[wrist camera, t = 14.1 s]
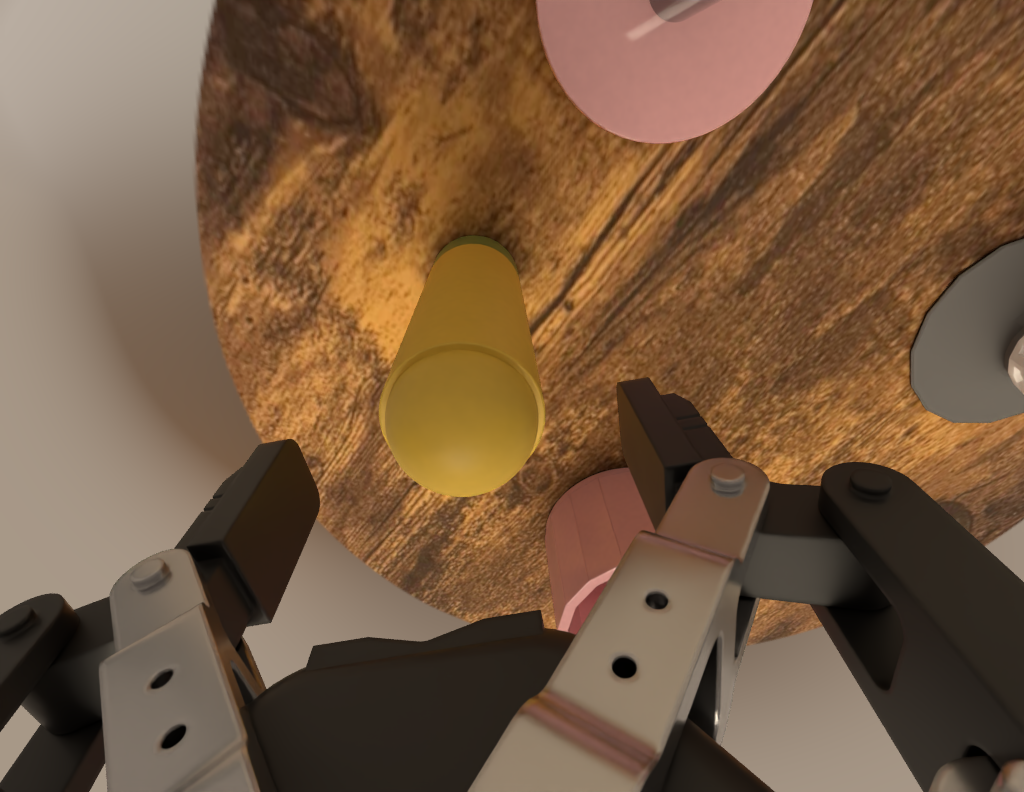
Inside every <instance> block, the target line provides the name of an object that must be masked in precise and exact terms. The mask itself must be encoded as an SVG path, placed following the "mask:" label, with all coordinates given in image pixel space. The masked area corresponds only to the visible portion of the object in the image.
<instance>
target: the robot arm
mask: <svg viewBox="0 0 1024 792" xmlns="http://www.w3.org/2000/svg"><path fill="white" fill-rule="evenodd" d="M617 402H618V413H619V425H620V437H621V444H622V449H623V453H624V457H625V460H626V463H627V465H628V468H629V470H630V472H631V475H632V477H633V479H634V482H635V484H636V486H637V489H638V491H639V494H640V496H641V498H642V501H643V503H644V505H645V508H646V510H647V512H648V515H649V517H650V519H651V522H652V524H653V526H654V529H655V533H652V532H649V531H646V530H641V531H640V532H638V534H637V535H636V536H635V537H634V539H633V541H632V542H631V544H630V546H629V547H628V549H627V551H626V552H625V554H624V556H623V557H622V559H621V561H620V562H619V564H618V566H617V567H616V569H615V571H614V572H613V574H612V576H611V577H610V579H609V581H608V582H607V584H606V586H605V588H604V589H603V591H602V593H601V594H600V596H599V598H598V599H597V601H596V603H595V604H594V606H593V608H592V609H591V611H590V613H589V614H588V616H587V618H586V619H585V621H584V623H583V624H582V626H581V628H580V629H579V631H578V633H577V634H573V633H570V632H566V631H561V630H556V629H547V628H544V624H543V619H542V614H541V610H536V611H530V612H524V613H517V614H511V615H505V616H498V617H492V618H486V619H482V620H480V621H477V622H474V623H472V624H469V625H467V626H464V627H462V628H459V629H457V630H454V631H451V632H449V633H446V634H444V635H441V636H439V637H436V638H433V639H431V640H428V641H423V642H417V641H406V640H394V639H382V638H372V637H366V638H360V639H354V640H348V641H341V642H335V643H329V644H322V645H316V646H313V648H312V651H311V654H310V657H309V660H308V663H307V666H306V667H305V668H303V669H301V670H298V671H297V672H295V673H292V674H291V675H289V676H287V677H285V678H283V679H282V680H280V681H279V682H277V683H275V684H273V685H272V686H271V687H269V688H268V689H266V687H265V684H264V682H263V680H262V677H261V675H260V672H259V670H258V668H257V665H256V663H255V661H254V658H253V656H252V654H251V651H250V649H249V646H248V645H247V643H246V641H245V640H244V638H243V637H242V635H243V633H244V631H245V628H246V627H248V626H254V625H259V624H267V623H271V622H272V619H273V617H274V615H275V612H276V610H277V608H278V606H279V603H280V601H281V598H282V596H283V594H284V592H285V589H286V587H287V585H288V582H289V580H290V578H291V575H292V573H293V571H294V568H295V566H296V564H297V561H298V559H299V557H300V555H301V552H302V550H303V547H304V545H305V543H306V541H307V538H308V536H309V534H310V531H311V529H312V527H313V524H314V522H315V520H316V517H317V515H318V512H319V508H320V498H319V492H318V489H317V486H316V484H315V482H314V479H313V477H312V475H311V473H310V470H309V468H308V466H307V463H306V461H305V459H304V457H303V454H302V452H301V450H300V448H299V446H298V444H297V443H296V442H295V441H294V440H293V439H287V440H281V441H275V442H270V443H264V444H260V445H258V447H257V448H256V449H255V451H254V452H253V453H252V455H251V456H250V458H249V459H248V460H247V462H246V463H245V465H244V466H243V467H241V468H240V469H239V470H237V471H236V472H235V473H234V474H232V475H231V476H230V477H229V478H228V479H226V480H225V481H224V482H223V483H222V485H221V486H220V487H219V489H218V490H217V491H216V493H215V494H214V496H213V499H211V500H210V501H209V502H208V504H207V505H206V506H205V508H204V512H201V513H200V515H199V516H198V517H197V518H196V520H195V521H194V523H193V524H192V525H191V527H190V528H189V529H188V531H187V532H186V533H185V535H184V536H183V538H182V539H181V540H180V542H179V543H178V544H177V546H176V547H175V548H174V549H170V550H166V551H162V552H160V553H157V554H155V555H152V556H150V557H148V558H146V559H144V560H142V561H141V562H139V563H138V564H136V565H135V566H133V567H132V568H131V569H129V570H128V571H127V572H126V573H125V574H123V575H122V576H121V577H120V578H119V579H118V581H117V582H116V583H115V584H114V586H113V588H112V590H111V592H110V596H109V597H107V598H104V599H102V600H99V601H96V602H93V603H91V604H89V605H86V606H83V607H80V608H78V609H75V610H73V609H72V607H71V606H70V605H69V604H68V603H67V602H66V600H65V599H64V598H63V597H62V596H61V595H59V594H45V595H41V596H37V597H34V598H31V599H29V600H27V601H24V602H22V603H20V604H18V605H16V606H14V607H13V608H11V609H9V610H8V611H6V612H4V613H3V614H1V615H0V732H1V730H2V729H3V728H4V726H5V725H6V724H7V722H8V721H9V720H10V718H11V717H12V716H13V714H14V713H15V712H16V710H17V709H18V708H19V706H20V705H22V706H23V707H24V708H25V709H26V710H27V711H28V712H29V713H30V714H31V715H32V716H33V717H34V718H35V719H36V720H37V721H38V722H39V723H40V724H41V725H40V726H39V728H38V729H37V731H36V732H35V734H34V735H33V736H32V738H31V739H30V741H29V742H28V744H27V745H26V747H25V748H24V749H23V751H22V752H21V754H20V755H19V757H18V758H17V760H16V761H15V763H14V764H13V765H12V767H11V768H10V770H9V771H8V772H7V774H6V775H5V777H4V778H3V780H2V781H1V783H0V792H89V791H90V789H91V788H92V786H93V784H94V782H95V780H96V778H97V777H98V775H99V773H100V771H101V769H102V767H103V766H104V764H105V763H106V777H107V789H108V792H774V791H773V790H772V789H771V788H770V787H768V786H767V785H766V784H765V783H764V782H763V781H761V780H760V779H759V778H758V777H757V776H756V775H754V774H753V773H752V772H751V771H750V770H748V769H747V768H746V767H745V766H744V765H743V764H741V763H740V762H739V761H738V760H737V759H735V758H734V757H733V756H732V755H731V754H729V753H728V752H727V751H726V750H725V749H724V748H723V747H721V743H722V740H723V737H724V733H725V730H726V725H727V722H728V718H729V713H730V708H731V703H732V697H733V691H734V686H735V681H736V677H737V673H738V670H739V667H740V663H741V660H742V657H743V654H744V650H745V647H746V644H747V641H748V637H749V634H750V631H751V627H752V624H753V621H754V618H755V614H756V611H757V608H758V604H759V601H760V598H762V599H770V600H779V601H788V602H796V603H805V604H810V605H811V607H812V608H813V610H814V612H815V613H816V615H817V617H818V618H819V620H820V622H821V623H822V625H823V627H824V628H825V630H826V631H827V633H828V635H829V636H830V638H831V640H832V641H833V643H834V645H835V646H836V648H837V650H838V651H839V653H840V654H841V656H842V658H843V660H844V661H845V663H846V664H847V666H848V668H849V670H850V671H851V673H852V675H853V676H854V678H855V679H856V681H857V683H858V684H859V686H860V688H861V689H862V691H863V693H864V694H865V696H866V698H867V699H868V701H869V702H870V704H871V706H872V707H873V709H874V711H875V713H876V714H877V716H878V718H879V719H880V721H881V722H882V724H883V726H884V727H885V729H886V731H887V732H888V734H889V736H890V737H891V739H892V740H893V742H894V744H895V746H896V747H897V749H898V750H899V752H900V754H901V755H902V757H903V759H904V761H905V762H906V764H907V765H908V767H909V769H910V771H911V772H912V774H913V775H914V777H915V779H916V780H917V782H918V784H919V785H920V787H921V789H922V790H923V792H1024V582H1023V581H1022V580H1021V579H1019V577H1018V576H1016V575H1015V574H1014V573H1013V572H1012V571H1011V570H1010V569H1009V568H1008V567H1007V566H1005V565H1004V564H1003V563H1002V562H1001V561H1000V560H999V559H998V558H997V557H996V556H994V555H993V554H992V553H991V552H990V551H989V550H988V549H987V548H986V547H985V546H983V545H982V544H981V543H980V542H979V541H978V540H977V539H976V538H975V537H974V536H973V535H971V534H970V533H969V532H968V531H967V530H966V529H965V528H964V527H963V526H962V525H960V524H959V523H958V522H957V521H956V520H955V519H954V518H953V517H952V516H951V515H949V514H948V513H947V512H946V511H945V510H944V509H943V508H942V507H941V506H940V505H938V504H937V503H936V502H935V501H934V500H933V499H932V498H931V497H930V496H929V495H928V494H926V493H925V492H924V491H923V490H922V489H921V488H920V487H919V486H918V485H917V484H915V483H914V482H913V481H912V480H911V479H909V478H908V477H907V476H905V475H903V474H902V473H900V472H897V471H895V470H893V469H890V468H888V467H884V466H881V465H877V464H871V463H864V462H848V463H842V464H838V465H835V466H832V467H830V468H829V469H827V470H826V471H825V472H824V474H823V476H822V479H821V486H811V485H790V484H780V483H774V482H770V481H769V479H768V477H767V475H766V474H765V473H764V472H763V471H762V470H761V469H760V468H758V467H757V466H755V465H753V464H751V463H749V462H746V461H743V460H739V459H734V458H733V457H732V456H731V455H730V453H729V452H728V451H727V449H726V448H725V447H724V445H723V444H722V443H721V442H720V440H719V439H718V438H717V436H716V435H715V434H714V432H713V431H712V430H711V428H710V427H708V426H707V423H706V422H705V420H704V419H703V418H702V416H701V417H700V414H699V412H698V411H697V410H696V408H695V407H694V406H693V405H692V403H691V402H690V401H688V400H686V399H684V398H682V397H680V396H678V395H677V394H675V393H672V394H666V395H660V394H659V392H658V391H657V389H656V388H655V386H654V385H653V383H652V382H651V380H650V379H649V378H648V377H646V378H641V379H635V380H629V381H623V382H618V383H617Z"/></svg>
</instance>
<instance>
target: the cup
mask: <svg viewBox="0 0 1024 792" xmlns="http://www.w3.org/2000/svg"><path fill="white" fill-rule="evenodd" d="M911 386H912V388H913V389H914V391H915V393H916V394H917V396H918V398H919V399H920V401H921V402H922V404H923V406H924V407H925V409H926V410H928V411H930V412H932V413H934V414H936V415H938V416H940V417H942V418H944V419H947V420H949V421H951V422H953V423H991V422H994V421H997V420H1001V419H1004V418H1007V417H1011V416H1014V415H1017V414H1021V413H1024V239H1021V240H1018V241H1015V242H1013V243H1010V244H1007V245H1004V246H1001V247H1000V248H998V249H997V250H995V251H994V252H992V253H991V254H990V255H988V256H987V257H985V258H984V259H982V260H981V261H979V262H978V263H977V264H975V265H974V266H972V267H971V268H969V269H968V270H966V271H965V272H964V273H962V274H961V275H959V276H958V277H957V278H956V280H955V281H954V282H953V283H952V284H951V285H950V287H949V288H948V289H947V290H946V291H945V292H944V294H943V295H942V296H941V297H940V298H939V300H938V301H937V302H936V303H935V304H934V305H933V307H932V308H931V309H930V310H929V311H928V313H927V314H926V317H925V319H924V321H923V324H922V326H921V328H920V331H919V333H918V335H917V338H916V340H915V342H914V345H913V347H912V349H911Z"/></svg>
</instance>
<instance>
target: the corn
mask: <svg viewBox="0 0 1024 792" xmlns="http://www.w3.org/2000/svg"><path fill="white" fill-rule="evenodd" d="M379 421H380V427H381V430H382V433H383V436H384V438H385V440H386V442H387V444H388V446H389V447H390V449H391V452H392V454H393V456H394V458H395V459H396V461H397V462H398V464H399V465H400V467H401V468H402V469H403V471H404V472H405V473H406V474H407V475H408V476H409V477H410V478H412V479H413V480H414V481H415V482H417V483H418V484H420V485H421V486H423V487H425V488H426V489H428V490H431V491H433V492H436V493H439V494H442V495H447V496H453V497H470V496H476V495H480V494H484V493H487V492H490V491H492V490H494V489H496V488H498V487H500V486H502V485H503V484H505V483H506V482H508V481H509V480H510V479H511V478H512V477H514V476H515V475H516V474H517V472H518V471H519V470H520V469H521V468H522V467H523V465H524V464H525V463H526V461H527V460H528V458H529V457H530V456H531V455H532V453H533V452H534V450H535V449H536V447H537V445H538V443H539V441H540V439H541V437H542V433H543V430H544V425H545V404H544V398H543V394H542V389H541V384H540V379H539V374H538V369H537V364H536V359H535V354H534V349H533V344H532V339H531V334H530V329H529V324H528V319H527V315H526V310H525V305H524V300H523V295H522V290H521V285H520V280H519V275H518V270H517V267H516V264H515V261H514V259H513V258H512V256H511V254H510V253H509V252H508V251H507V250H506V249H505V248H504V247H503V246H502V245H501V244H499V243H498V242H496V241H494V240H493V239H490V238H487V237H483V236H477V235H472V236H464V237H461V238H458V239H456V240H453V241H452V242H450V243H449V244H447V245H446V246H445V247H444V248H443V249H442V250H441V251H440V252H439V254H438V255H437V257H436V259H435V261H434V264H433V266H432V269H431V271H430V273H429V276H428V278H427V281H426V283H425V286H424V288H423V291H422V293H421V296H420V298H419V301H418V303H417V306H416V308H415V311H414V313H413V316H412V318H411V321H410V323H409V326H408V328H407V331H406V333H405V336H404V338H403V341H402V343H401V345H400V348H399V350H398V353H397V355H396V358H395V360H394V363H393V365H392V368H391V370H390V373H389V375H388V378H387V380H386V383H385V385H384V388H383V391H382V394H381V397H380V403H379Z"/></svg>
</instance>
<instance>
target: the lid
mask: <svg viewBox="0 0 1024 792" xmlns="http://www.w3.org/2000/svg"><path fill="white" fill-rule="evenodd" d="M812 3H813V0H535V6H536V16H537V24H538V29H539V34H540V38H541V43H542V46H543V49H544V52H545V55H546V58H547V61H548V64H549V66H550V68H551V70H552V72H553V74H554V77H555V79H556V81H557V82H558V84H559V85H560V87H561V89H562V90H563V92H564V93H565V95H566V96H567V98H568V99H569V100H570V101H571V102H572V103H573V105H574V106H575V107H576V108H577V109H578V110H579V111H580V112H581V113H582V114H583V115H584V116H585V117H586V118H588V119H589V120H590V121H591V122H593V123H594V124H596V125H597V126H599V127H600V128H602V129H603V130H605V131H607V132H609V133H611V134H614V135H616V136H618V137H621V138H624V139H628V140H631V141H635V142H643V143H651V144H660V143H674V142H680V141H686V140H689V139H692V138H695V137H699V136H702V135H704V134H706V133H708V132H711V131H713V130H715V129H717V128H719V127H721V126H722V125H724V124H725V123H727V122H729V121H730V120H732V119H734V118H735V117H736V116H737V115H739V114H740V113H741V112H743V111H744V110H745V109H746V108H748V107H749V106H750V105H751V104H752V103H753V102H754V101H755V100H756V99H757V98H758V97H759V96H760V95H761V94H762V93H763V92H764V91H765V90H766V88H767V87H768V86H769V85H770V84H771V82H772V81H773V80H774V79H775V77H776V76H777V75H778V73H779V72H780V70H781V69H782V67H783V66H784V64H785V63H786V61H787V60H788V58H789V57H790V55H791V53H792V51H793V49H794V47H795V45H796V44H797V42H798V40H799V38H800V35H801V33H802V31H803V28H804V26H805V23H806V21H807V19H808V16H809V13H810V10H811V6H812Z"/></svg>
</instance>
